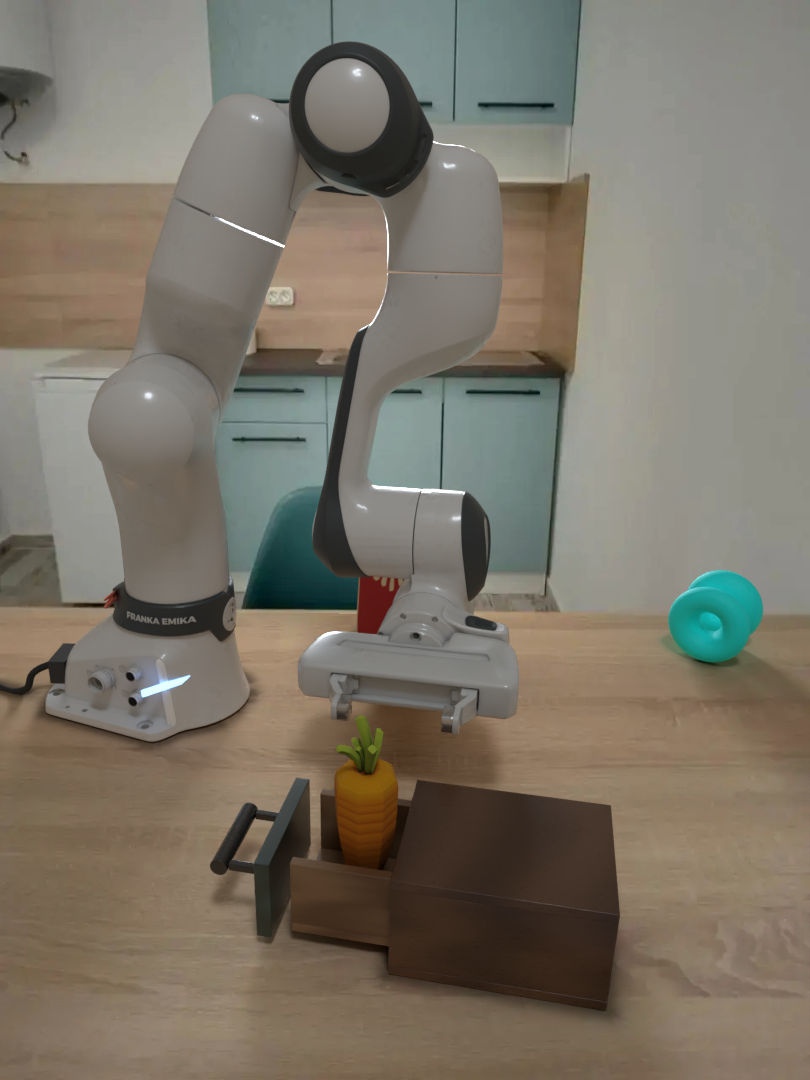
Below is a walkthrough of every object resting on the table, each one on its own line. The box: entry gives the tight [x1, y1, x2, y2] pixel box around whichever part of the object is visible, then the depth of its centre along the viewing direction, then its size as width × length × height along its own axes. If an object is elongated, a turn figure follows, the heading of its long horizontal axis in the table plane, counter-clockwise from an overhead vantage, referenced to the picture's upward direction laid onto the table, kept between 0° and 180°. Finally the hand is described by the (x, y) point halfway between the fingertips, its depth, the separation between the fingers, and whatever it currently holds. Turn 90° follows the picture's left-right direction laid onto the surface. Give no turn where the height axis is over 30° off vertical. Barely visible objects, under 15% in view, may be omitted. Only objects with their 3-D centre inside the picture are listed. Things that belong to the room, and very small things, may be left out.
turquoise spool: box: [667, 569, 764, 663], centre depth 108 cm, size 10×10×10 cm
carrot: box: [333, 714, 399, 870], centre depth 63 cm, size 5×5×15 cm
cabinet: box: [387, 779, 621, 1011], centre depth 63 cm, size 16×12×9 cm
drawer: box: [209, 777, 412, 947], centre depth 65 cm, size 19×10×7 cm, turn 80°
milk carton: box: [355, 576, 404, 635], centre depth 107 cm, size 9×9×20 cm
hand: (393, 720), depth 69 cm, fingers open, 8 cm apart
